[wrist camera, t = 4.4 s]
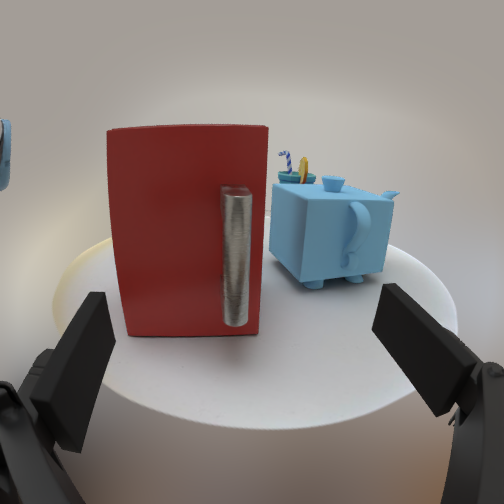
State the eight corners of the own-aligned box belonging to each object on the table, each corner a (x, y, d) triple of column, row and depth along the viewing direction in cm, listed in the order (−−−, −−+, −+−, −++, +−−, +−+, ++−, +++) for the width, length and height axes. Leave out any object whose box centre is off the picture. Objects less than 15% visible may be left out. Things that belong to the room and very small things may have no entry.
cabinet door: (267, 369, 23) (284, 124, 16) (116, 371, 21) (81, 129, 15) (256, 327, 28) (266, 127, 22) (130, 329, 27) (110, 130, 20)
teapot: (308, 306, 32) (321, 185, 28) (262, 254, 46) (266, 167, 42) (420, 285, 38) (439, 193, 33) (359, 246, 51) (369, 173, 47)
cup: (260, 217, 67) (263, 148, 62) (291, 215, 70) (295, 150, 64) (289, 236, 55) (295, 152, 50) (325, 233, 58) (332, 155, 52)
